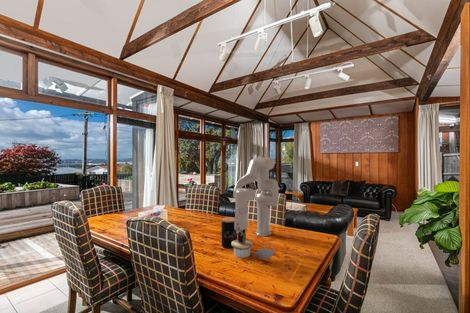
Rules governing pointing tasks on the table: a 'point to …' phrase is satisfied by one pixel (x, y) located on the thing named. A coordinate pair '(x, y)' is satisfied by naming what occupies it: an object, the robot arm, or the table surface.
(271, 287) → the table surface
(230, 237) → the coffee jar
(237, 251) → the bowl
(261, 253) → the mat
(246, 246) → the lid
